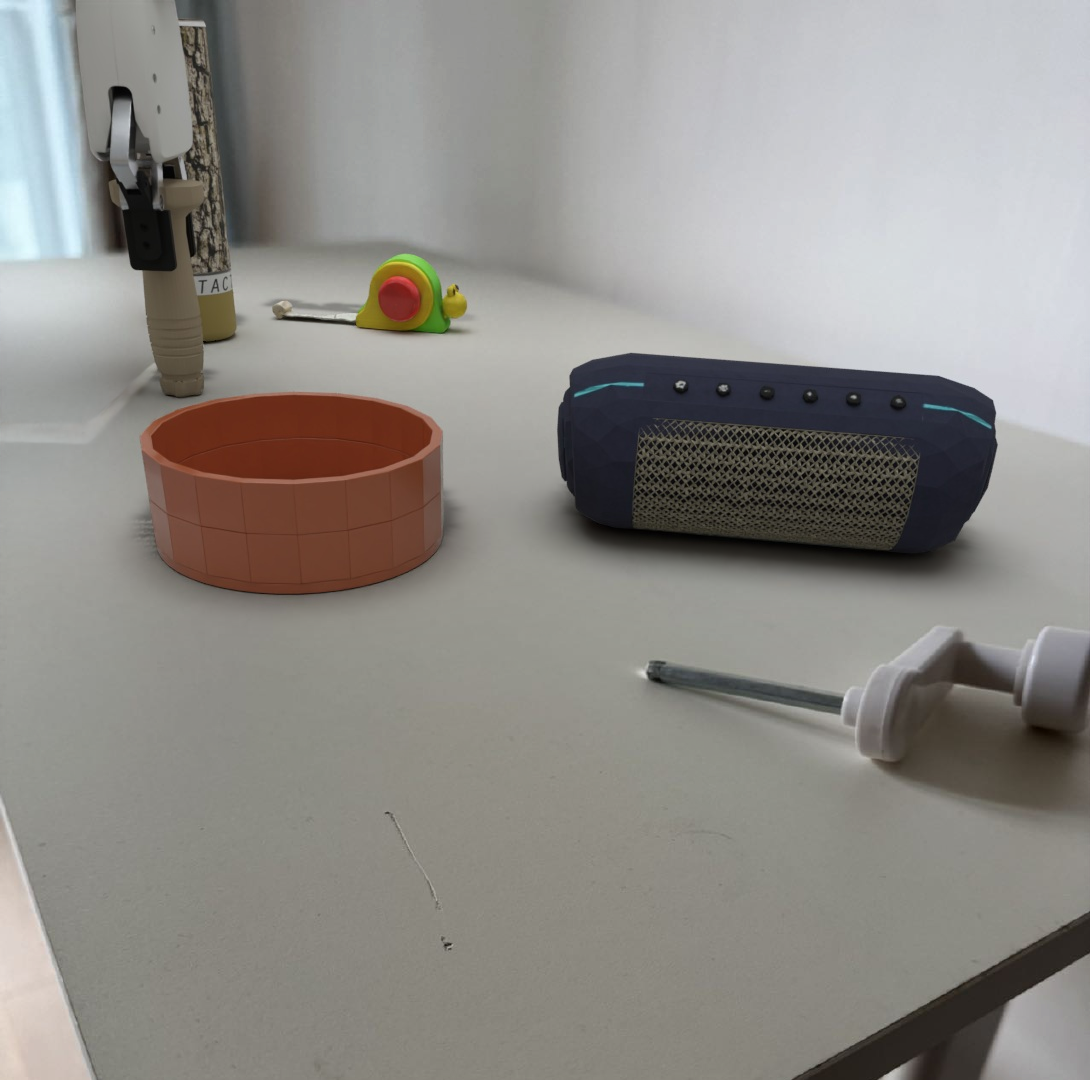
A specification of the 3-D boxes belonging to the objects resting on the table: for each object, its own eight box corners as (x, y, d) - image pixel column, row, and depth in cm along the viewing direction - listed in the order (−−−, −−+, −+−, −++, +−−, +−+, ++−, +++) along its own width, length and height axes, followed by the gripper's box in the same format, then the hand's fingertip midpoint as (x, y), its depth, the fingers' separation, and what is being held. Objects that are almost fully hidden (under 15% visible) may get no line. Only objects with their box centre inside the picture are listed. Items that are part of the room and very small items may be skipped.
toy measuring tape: (458, 339, 107) (458, 266, 104) (264, 323, 110) (258, 250, 106) (474, 325, 112) (474, 254, 109) (288, 310, 115) (283, 240, 111)
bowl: (119, 590, 58) (99, 477, 55) (195, 482, 72) (183, 387, 69) (433, 598, 59) (432, 487, 55) (449, 489, 72) (449, 396, 69)
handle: (221, 401, 87) (197, 188, 79) (135, 401, 86) (102, 185, 78) (229, 384, 91) (206, 179, 83) (146, 383, 90) (116, 176, 82)
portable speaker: (541, 547, 65) (548, 371, 60) (562, 488, 73) (569, 330, 68) (987, 587, 63) (1035, 408, 57) (956, 522, 71) (995, 360, 66)
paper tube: (149, 332, 105) (103, 14, 91) (216, 324, 109) (181, 18, 95) (182, 347, 100) (140, 16, 87) (251, 338, 104) (220, 19, 91)
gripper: (107, -30, 81) (145, 242, 90) (18, -42, 66) (75, 283, 76) (212, -26, 81) (239, 245, 91) (147, -37, 67) (187, 287, 76)
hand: (164, 260), depth 83 cm, fingers closed on handle, 4 cm apart
